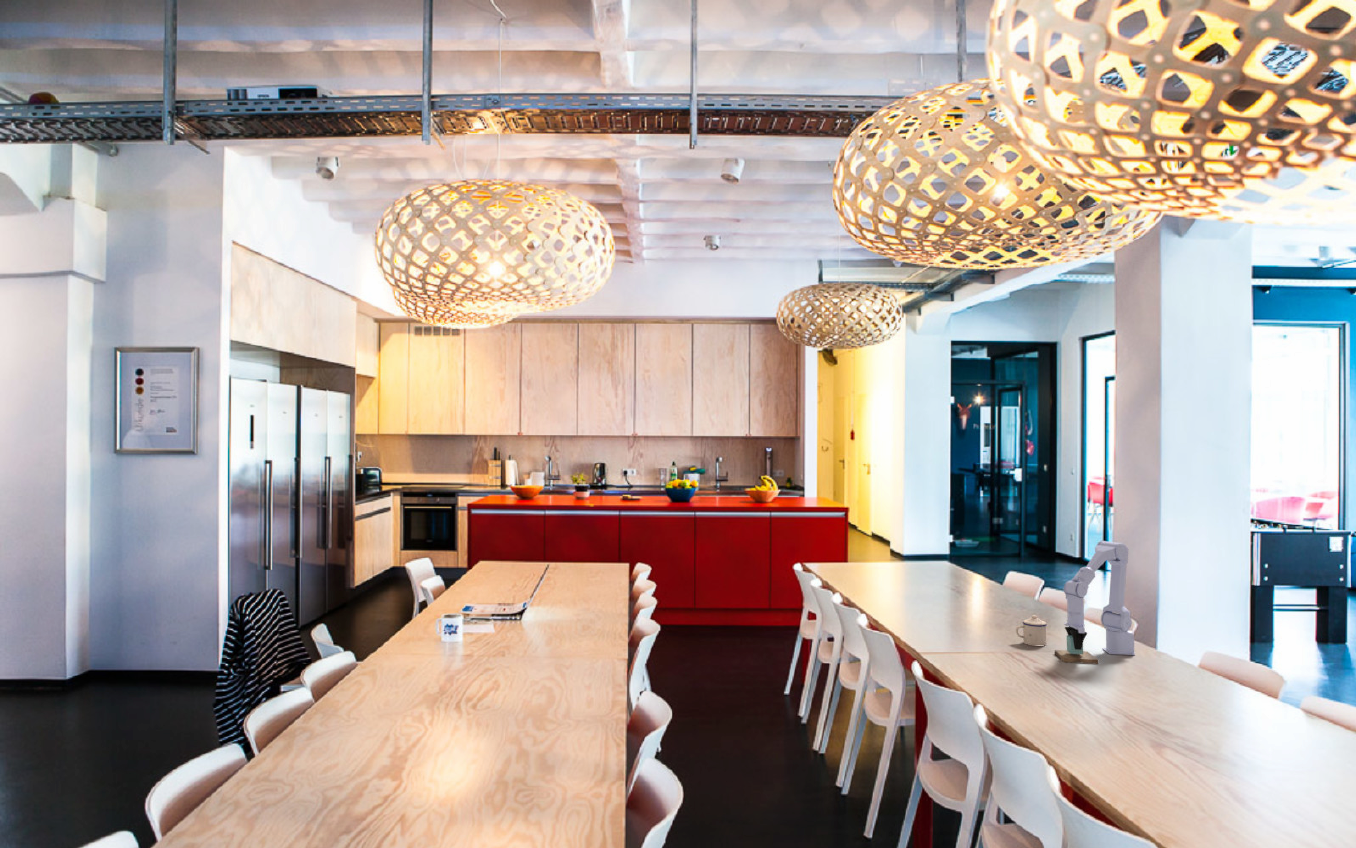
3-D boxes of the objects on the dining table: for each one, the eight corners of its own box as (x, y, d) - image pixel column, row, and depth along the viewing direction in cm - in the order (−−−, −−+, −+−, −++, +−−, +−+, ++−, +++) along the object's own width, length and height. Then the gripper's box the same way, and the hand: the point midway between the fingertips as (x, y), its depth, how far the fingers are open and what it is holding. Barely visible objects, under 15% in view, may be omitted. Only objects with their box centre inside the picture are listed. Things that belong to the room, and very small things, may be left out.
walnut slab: (1087, 655, 307) (1087, 651, 307) (1098, 663, 296) (1098, 659, 296) (1054, 653, 309) (1054, 650, 309) (1064, 662, 298) (1064, 658, 298)
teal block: (1079, 651, 304) (1079, 635, 305) (1083, 654, 300) (1082, 638, 300) (1066, 650, 305) (1066, 635, 305) (1070, 653, 301) (1070, 638, 301)
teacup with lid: (1043, 641, 329) (1042, 613, 329) (1049, 647, 320) (1049, 618, 320) (1012, 640, 330) (1012, 612, 331) (1019, 646, 321) (1018, 617, 322)
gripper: (1058, 608, 311) (1059, 642, 310) (1070, 616, 296) (1070, 652, 296) (1077, 608, 310) (1078, 643, 309) (1090, 616, 295) (1090, 653, 295)
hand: (1075, 647), depth 303 cm, fingers closed on teal block, 4 cm apart
